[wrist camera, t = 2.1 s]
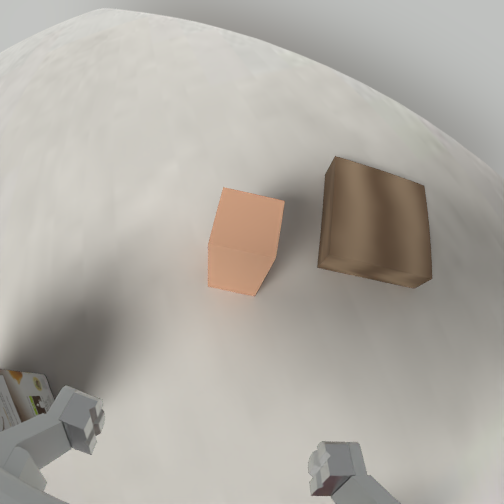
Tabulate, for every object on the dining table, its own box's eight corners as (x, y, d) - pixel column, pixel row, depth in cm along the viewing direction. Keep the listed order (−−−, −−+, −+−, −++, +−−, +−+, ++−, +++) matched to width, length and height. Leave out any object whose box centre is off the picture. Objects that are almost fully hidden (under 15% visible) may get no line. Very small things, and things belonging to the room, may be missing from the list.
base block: (408, 201, 38) (424, 185, 34) (412, 289, 33) (432, 278, 30) (324, 176, 37) (335, 156, 34) (316, 268, 33) (329, 254, 29)
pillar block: (262, 253, 32) (284, 201, 23) (254, 296, 30) (275, 258, 21) (218, 243, 32) (223, 187, 23) (208, 286, 30) (208, 243, 21)
